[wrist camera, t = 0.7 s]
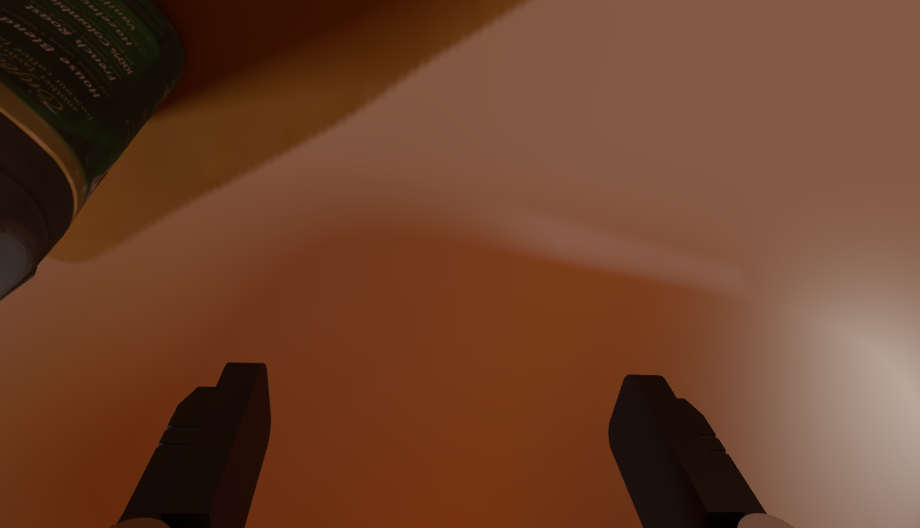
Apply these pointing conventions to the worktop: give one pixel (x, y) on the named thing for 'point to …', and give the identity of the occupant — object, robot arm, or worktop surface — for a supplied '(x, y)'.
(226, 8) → the worktop surface
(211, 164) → the worktop surface
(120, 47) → the coffee jar
